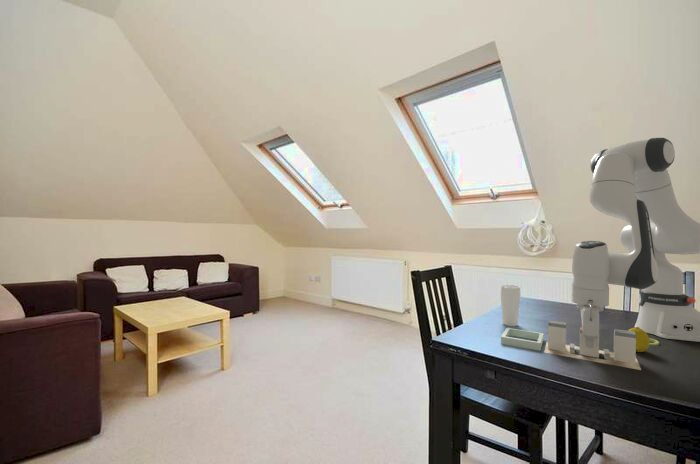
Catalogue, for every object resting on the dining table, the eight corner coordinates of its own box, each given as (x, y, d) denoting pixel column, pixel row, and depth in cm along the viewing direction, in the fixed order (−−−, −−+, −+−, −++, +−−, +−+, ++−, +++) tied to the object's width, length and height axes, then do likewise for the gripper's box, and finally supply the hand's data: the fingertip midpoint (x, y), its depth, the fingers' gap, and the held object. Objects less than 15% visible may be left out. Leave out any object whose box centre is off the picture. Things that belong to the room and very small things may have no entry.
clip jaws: (608, 358, 98) (608, 349, 98) (609, 362, 95) (609, 354, 95) (569, 351, 103) (570, 343, 103) (569, 355, 100) (569, 347, 100)
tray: (543, 342, 111) (543, 333, 111) (540, 353, 102) (540, 343, 102) (506, 336, 117) (506, 327, 117) (500, 345, 108) (501, 336, 108)
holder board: (635, 358, 97) (635, 356, 97) (641, 373, 88) (641, 370, 88) (546, 343, 110) (546, 341, 110) (544, 355, 101) (544, 352, 101)
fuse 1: (565, 348, 103) (566, 322, 103) (565, 351, 101) (565, 325, 101) (548, 345, 106) (548, 320, 106) (548, 348, 103) (548, 322, 103)
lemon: (640, 358, 98) (640, 330, 98) (620, 351, 103) (620, 325, 103) (654, 355, 100) (654, 328, 99) (633, 349, 105) (634, 323, 105)
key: (637, 334, 120) (637, 328, 120) (662, 347, 108) (662, 340, 108) (614, 333, 121) (614, 327, 121) (637, 346, 109) (637, 339, 109)
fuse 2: (633, 360, 95) (634, 331, 94) (635, 364, 92) (636, 334, 92) (613, 356, 97) (613, 328, 97) (614, 360, 95) (615, 331, 94)
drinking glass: (522, 329, 125) (522, 288, 125) (502, 328, 126) (503, 287, 126) (517, 323, 132) (517, 285, 131) (498, 322, 133) (498, 284, 133)
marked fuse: (598, 356, 99) (598, 329, 99) (598, 360, 97) (599, 332, 96) (579, 353, 101) (580, 327, 101) (579, 357, 99) (580, 329, 99)
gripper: (606, 306, 88) (605, 359, 89) (601, 292, 105) (600, 336, 106) (576, 303, 92) (576, 353, 92) (576, 290, 109) (576, 333, 109)
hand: (589, 344), depth 99 cm, fingers closed on marked fuse, 3 cm apart
